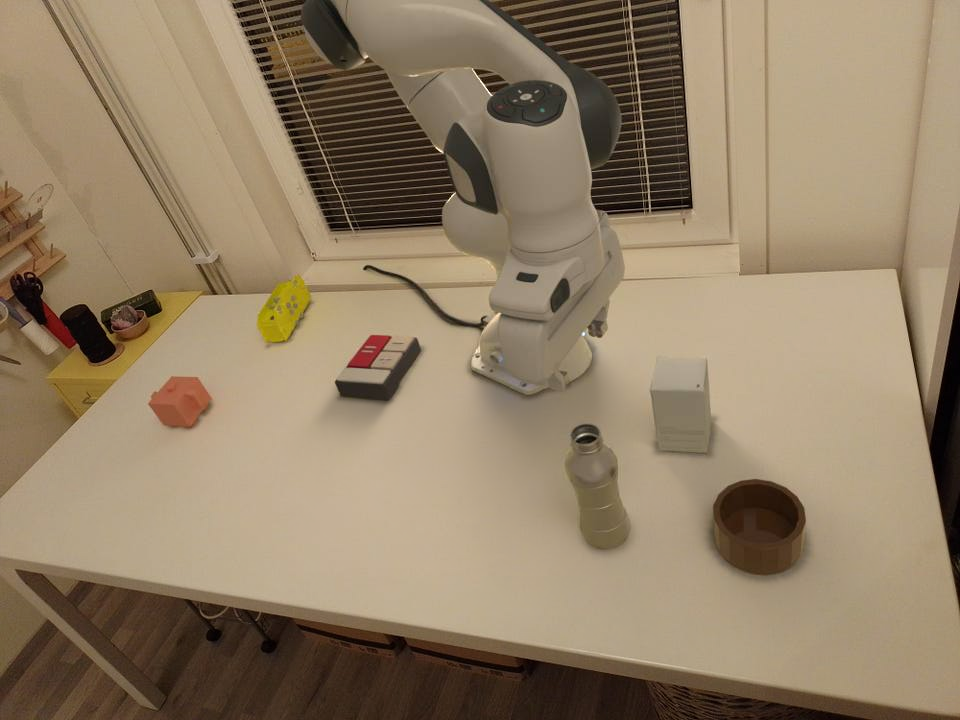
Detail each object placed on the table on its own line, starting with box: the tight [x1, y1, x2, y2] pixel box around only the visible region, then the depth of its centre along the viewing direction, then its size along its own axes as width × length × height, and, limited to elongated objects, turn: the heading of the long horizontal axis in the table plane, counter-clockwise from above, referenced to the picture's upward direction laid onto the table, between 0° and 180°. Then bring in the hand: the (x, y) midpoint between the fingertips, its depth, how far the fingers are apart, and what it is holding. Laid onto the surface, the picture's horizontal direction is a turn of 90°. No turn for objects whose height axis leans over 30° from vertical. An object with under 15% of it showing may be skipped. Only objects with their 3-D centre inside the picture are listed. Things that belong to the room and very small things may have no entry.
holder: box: [712, 478, 807, 576], centre depth 89 cm, size 11×11×6 cm
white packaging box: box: [649, 356, 712, 454], centre depth 103 cm, size 7×7×13 cm
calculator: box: [334, 334, 422, 401], centre depth 136 cm, size 11×4×15 cm
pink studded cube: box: [147, 375, 213, 428], centre depth 139 cm, size 8×12×8 cm, turn 72°
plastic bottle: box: [564, 423, 631, 549], centre depth 90 cm, size 6×7×20 cm
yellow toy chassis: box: [256, 275, 312, 344], centre depth 157 cm, size 16×6×8 cm, turn 169°
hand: (580, 359), depth 78 cm, fingers open, 8 cm apart
